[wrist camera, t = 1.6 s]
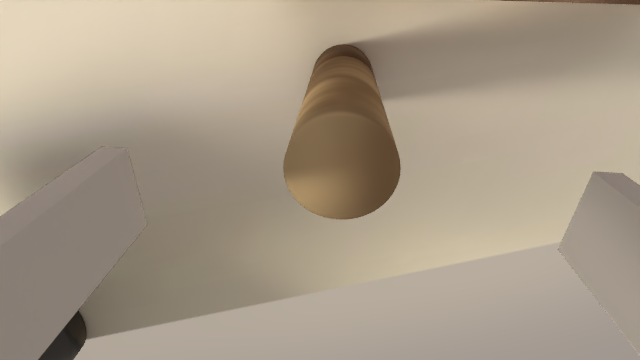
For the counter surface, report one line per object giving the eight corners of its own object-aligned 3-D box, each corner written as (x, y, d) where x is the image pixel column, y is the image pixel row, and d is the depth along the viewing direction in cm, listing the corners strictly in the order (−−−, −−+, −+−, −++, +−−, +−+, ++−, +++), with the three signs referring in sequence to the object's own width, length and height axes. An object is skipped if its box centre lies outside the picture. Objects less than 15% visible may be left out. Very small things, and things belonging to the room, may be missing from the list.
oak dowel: (312, 102, 26) (285, 216, 13) (313, 43, 24) (281, 113, 11) (369, 105, 25) (392, 222, 13) (374, 45, 23) (408, 118, 11)
